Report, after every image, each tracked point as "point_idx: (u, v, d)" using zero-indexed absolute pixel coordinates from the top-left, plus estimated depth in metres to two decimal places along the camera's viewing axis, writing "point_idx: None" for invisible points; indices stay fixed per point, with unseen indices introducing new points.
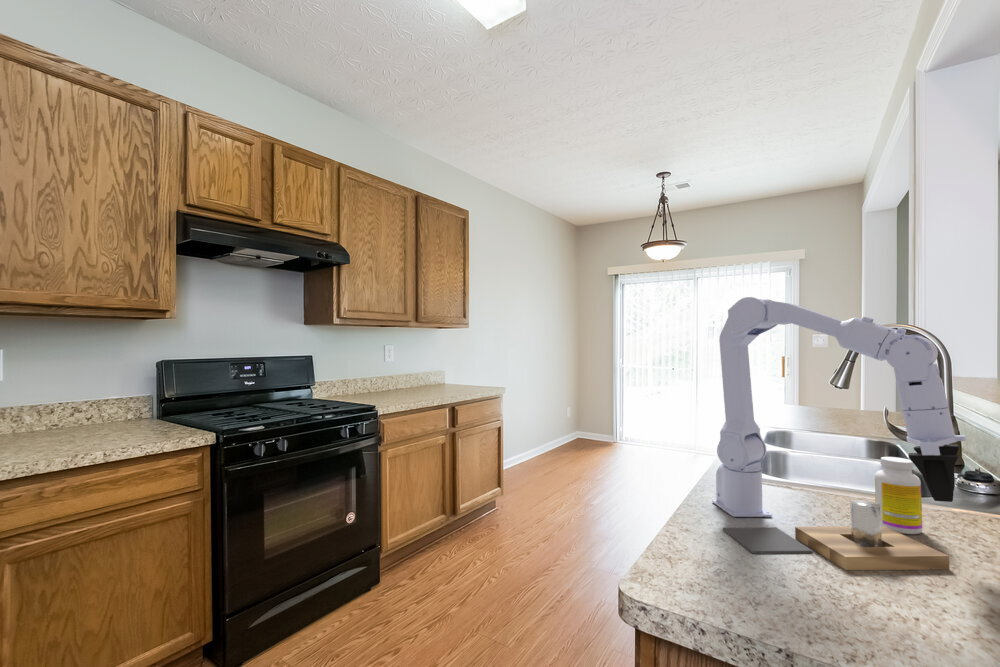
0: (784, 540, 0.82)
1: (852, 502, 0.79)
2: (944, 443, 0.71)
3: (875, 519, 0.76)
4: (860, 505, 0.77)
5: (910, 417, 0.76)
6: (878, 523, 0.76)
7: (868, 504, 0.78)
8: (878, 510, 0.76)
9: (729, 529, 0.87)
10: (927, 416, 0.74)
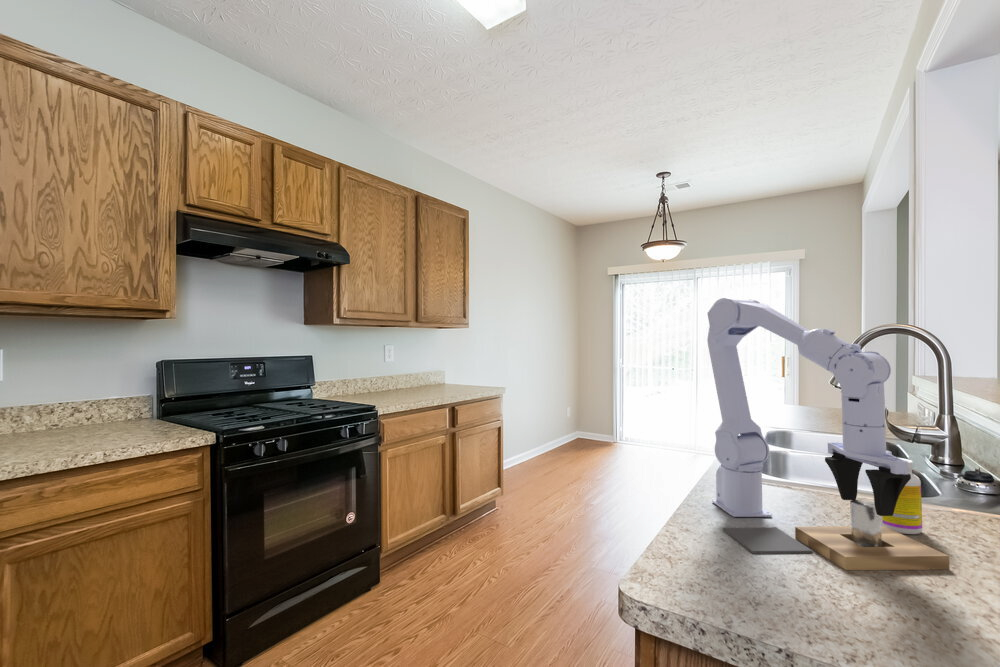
0: (784, 540, 0.82)
1: (852, 502, 0.79)
2: None
3: (875, 519, 0.76)
4: (860, 505, 0.77)
5: (863, 433, 0.76)
6: (878, 523, 0.76)
7: (868, 504, 0.78)
8: None
9: (729, 529, 0.87)
10: (879, 433, 0.76)
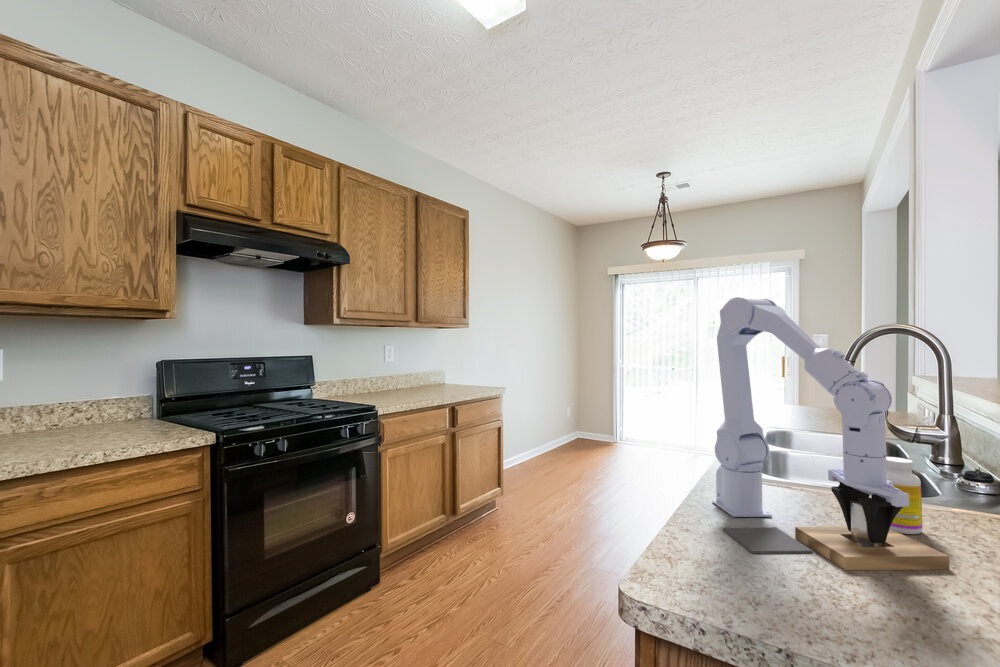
0: (784, 540, 0.82)
1: (852, 502, 0.79)
2: (897, 492, 0.74)
3: None
4: (860, 505, 0.77)
5: (863, 463, 0.76)
6: None
7: None
8: None
9: (729, 529, 0.87)
10: (880, 464, 0.75)
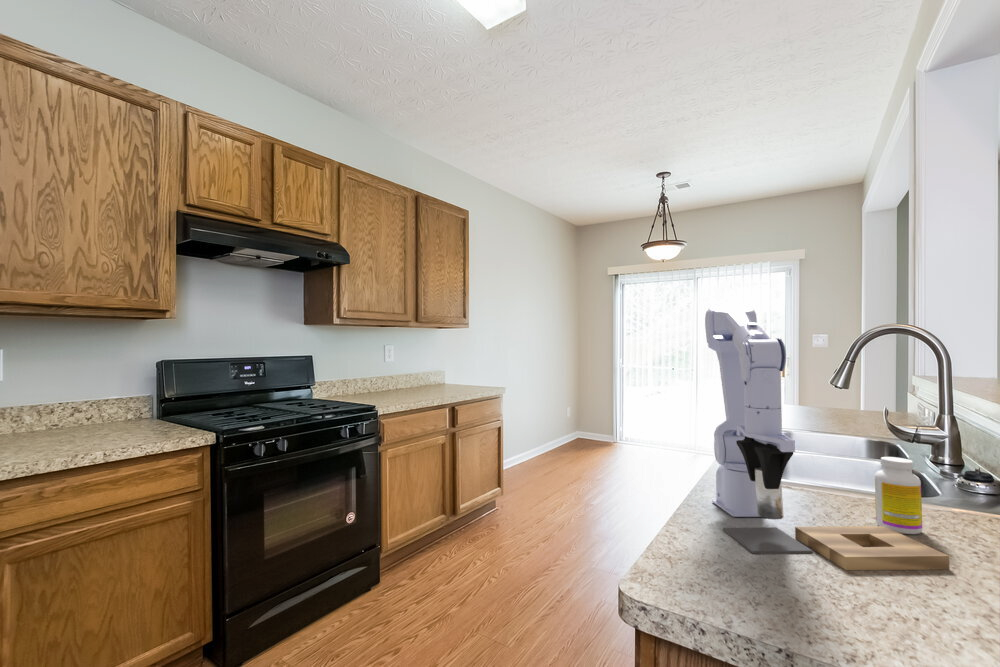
0: (784, 540, 0.82)
1: (756, 468, 0.84)
2: None
3: None
4: (760, 471, 0.82)
5: (759, 415, 0.81)
6: None
7: None
8: None
9: (729, 529, 0.87)
10: (774, 415, 0.80)
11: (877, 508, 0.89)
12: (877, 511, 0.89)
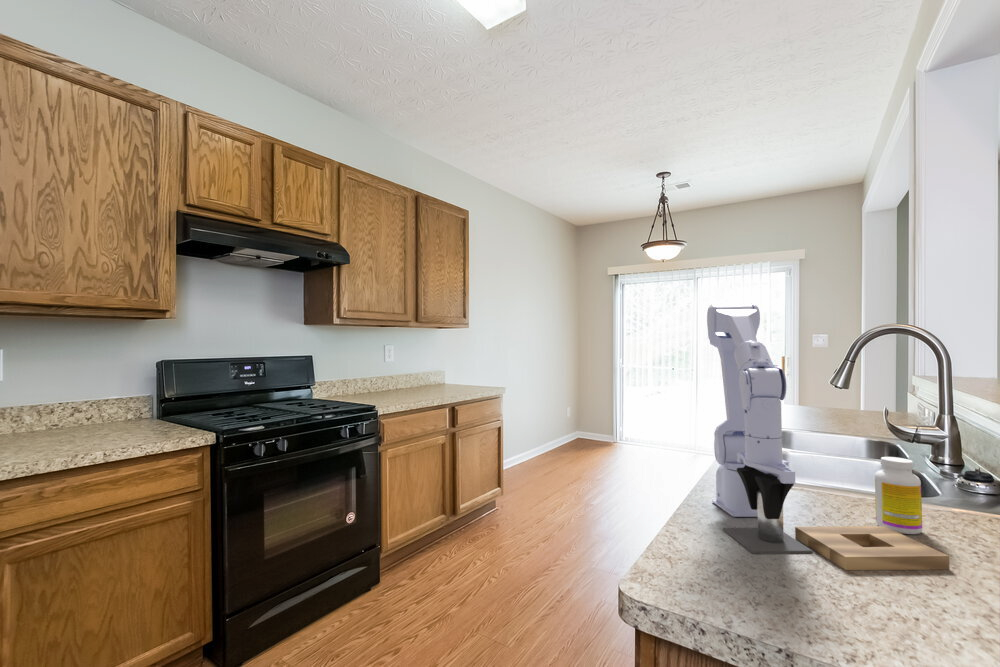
0: (784, 540, 0.82)
1: (758, 491, 0.84)
2: (788, 470, 0.79)
3: None
4: None
5: (760, 444, 0.81)
6: None
7: None
8: None
9: (729, 529, 0.87)
10: (774, 444, 0.80)
11: (877, 508, 0.89)
12: (877, 511, 0.89)
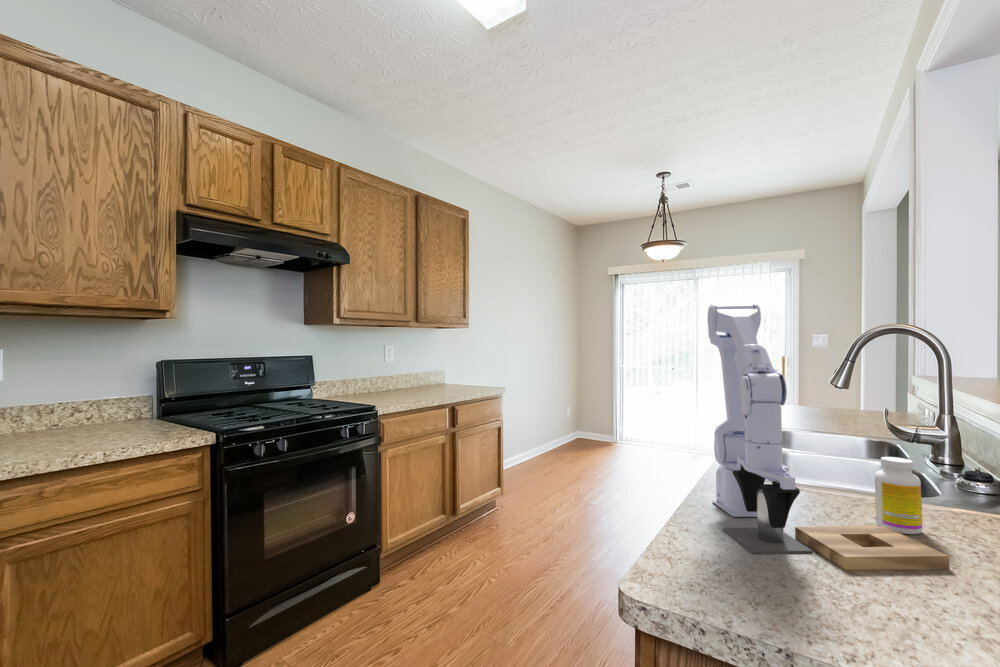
0: (784, 540, 0.82)
1: (758, 491, 0.84)
2: (788, 476, 0.79)
3: None
4: (762, 493, 0.82)
5: (760, 450, 0.81)
6: None
7: None
8: None
9: (729, 529, 0.87)
10: (774, 450, 0.80)
11: (877, 508, 0.89)
12: (877, 511, 0.89)
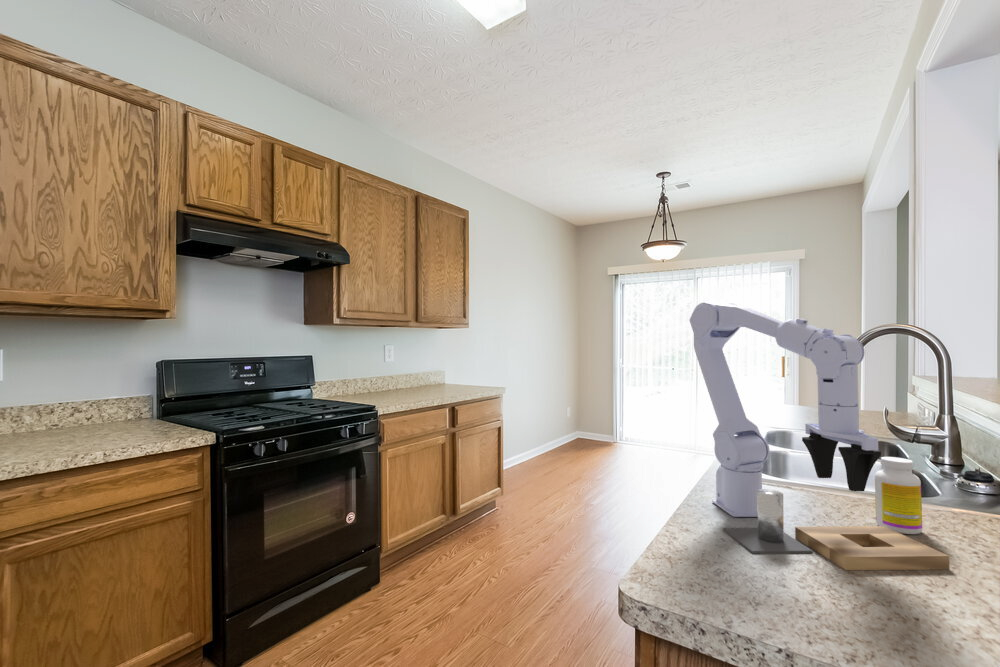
0: (784, 540, 0.82)
1: (758, 490, 0.84)
2: None
3: (775, 507, 0.81)
4: (762, 493, 0.82)
5: (836, 412, 0.79)
6: (778, 510, 0.81)
7: (772, 493, 0.82)
8: (779, 498, 0.81)
9: (729, 529, 0.87)
10: (852, 412, 0.79)
11: (877, 508, 0.89)
12: (877, 511, 0.89)
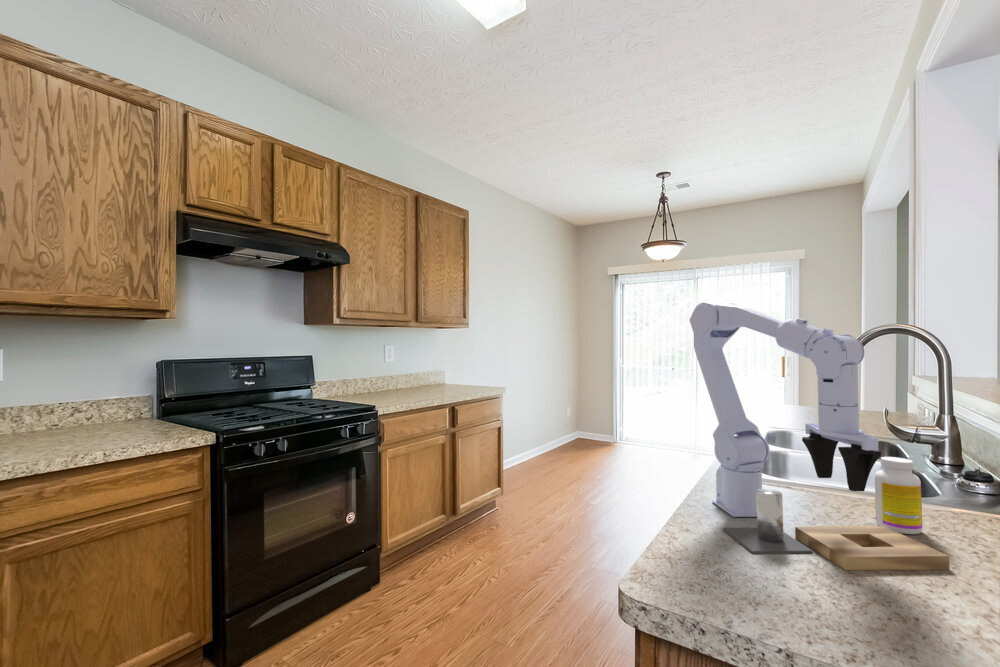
0: (784, 540, 0.82)
1: (757, 491, 0.84)
2: None
3: (774, 507, 0.81)
4: (761, 493, 0.82)
5: (836, 412, 0.79)
6: (777, 510, 0.81)
7: (771, 493, 0.83)
8: (778, 498, 0.81)
9: (729, 529, 0.87)
10: (852, 412, 0.79)
11: (877, 508, 0.89)
12: (877, 511, 0.89)
